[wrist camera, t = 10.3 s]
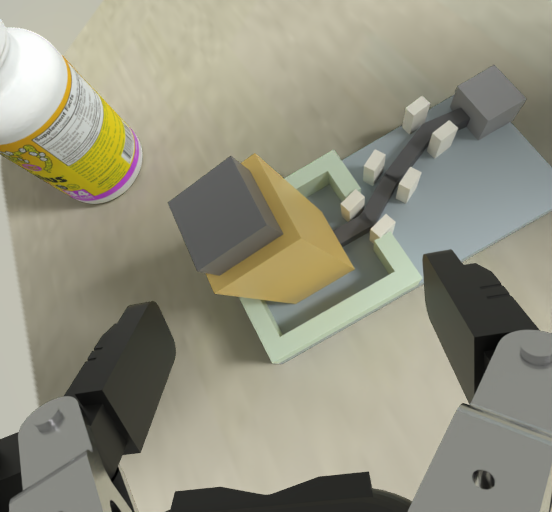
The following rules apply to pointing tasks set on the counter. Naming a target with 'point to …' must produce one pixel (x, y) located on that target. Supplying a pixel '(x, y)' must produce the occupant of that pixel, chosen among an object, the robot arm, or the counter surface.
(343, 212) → the board
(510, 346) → the robot arm
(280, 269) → the block
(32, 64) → the supplement bottle
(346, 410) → the counter surface
